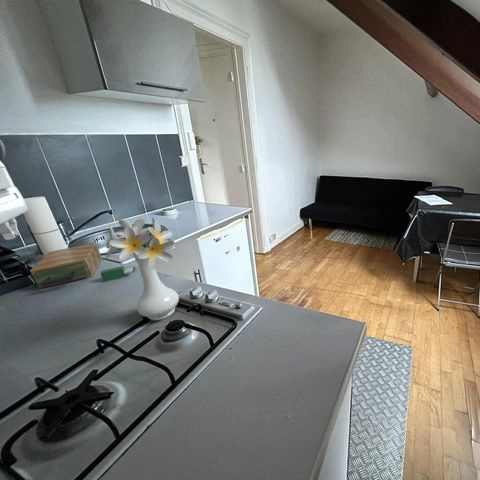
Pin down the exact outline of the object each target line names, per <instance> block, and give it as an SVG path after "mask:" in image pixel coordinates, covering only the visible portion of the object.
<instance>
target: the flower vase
mask: <svg viewBox="0 0 480 480" xmlns="http://www.w3.org/2000/svg"><path fill="white" fill-rule="evenodd" d="M145 223H146V221H145V219H144V218H138V219H136V220H135V221H134V223H133V224H131V223H130V222H129V221H128V220H126V219H120V218H119V220H118V224H119V226H121V227H122V229H119V230H117V231H116V232H115V231H114V229H113V227H111V226H109V228H108V229H109V230H108V231H109V237H110V238H111V239H108V241H107V242H106V245H105V248H106V249H108V251H107V253H106V257H105V260H107V259H108V258H109V257H110V256H111V255H112V253H113V252H114V251H115V250H116V249H122V250H121V251H120V253H119V255H118V260H119V261H120V262H125V261H127V260H128V259H130V257H131V256H133V258H134V259H135V261H136V263H137V265H138V269H139V272H140V275H141V278H142V284H143V292H142V294H141V296H140V297H139V299H138V301H137V304H136V311H137V312H138V314H139V315H141V316H142V317H143V318H144V317H145V318H148V319H149V320H150V319H151V321H161V320H165V319H166V318H168V317H170V316H172V315H173V314H174V313H175V311H176V308H177V306H178V304H179V301H180V295H179V294H178V293H177V291H176V290H175V289H173V288H171V287H168V286H166V285H165V284H164V283H163V282H162V281H161V279H160V277H159V276H158V275H159V274H158V273H157V270H156V267H157V265H158V263H159V260H160V261H163V262H171V261H173V260H174V258H173V255H172V254H171V253H169V252H168V251H167V250H169V249H176V246H175V241H174V240H172V239H170V238H172V237H173V233H172V231H170V230H167V228H166V227H165V225H163V224H160V222H159V221H158V220H156V219H155V218H154V217H152V218H151V223H152V226H148V227H146V228H143V227H144V226H145ZM150 234H151V235H150Z"/></svg>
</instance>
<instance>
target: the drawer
mask: <svg viewBox="0 0 480 480" xmlns="http://www.w3.org/2000/svg"><path fill="white" fill-rule="evenodd" d="M33 276H34V277H33ZM33 276H32V277H33V279H34V278H35V279H34V281H35V280H36V281H35V283H36V282H37V283H36V285H37V284H38V285H37V287H38V286H39V287H43V286H48V285H52V284H56V283H61V282H65V281H70V280H74V279H78V278H83V277H87V276H89V273H88V271H87V268H86V266H85V264H84V262H81V263H76V264H71V265H66V266H62V267H57V268H52V269H47V270H42V271H39V272H35V273H33ZM39 287H38V288H39Z"/></svg>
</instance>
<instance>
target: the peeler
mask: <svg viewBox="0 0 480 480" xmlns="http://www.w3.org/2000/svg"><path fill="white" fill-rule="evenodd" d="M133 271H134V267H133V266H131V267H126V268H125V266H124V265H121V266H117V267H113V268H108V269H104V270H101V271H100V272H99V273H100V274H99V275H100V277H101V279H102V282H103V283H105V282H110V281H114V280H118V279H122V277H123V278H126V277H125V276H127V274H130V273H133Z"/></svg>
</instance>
